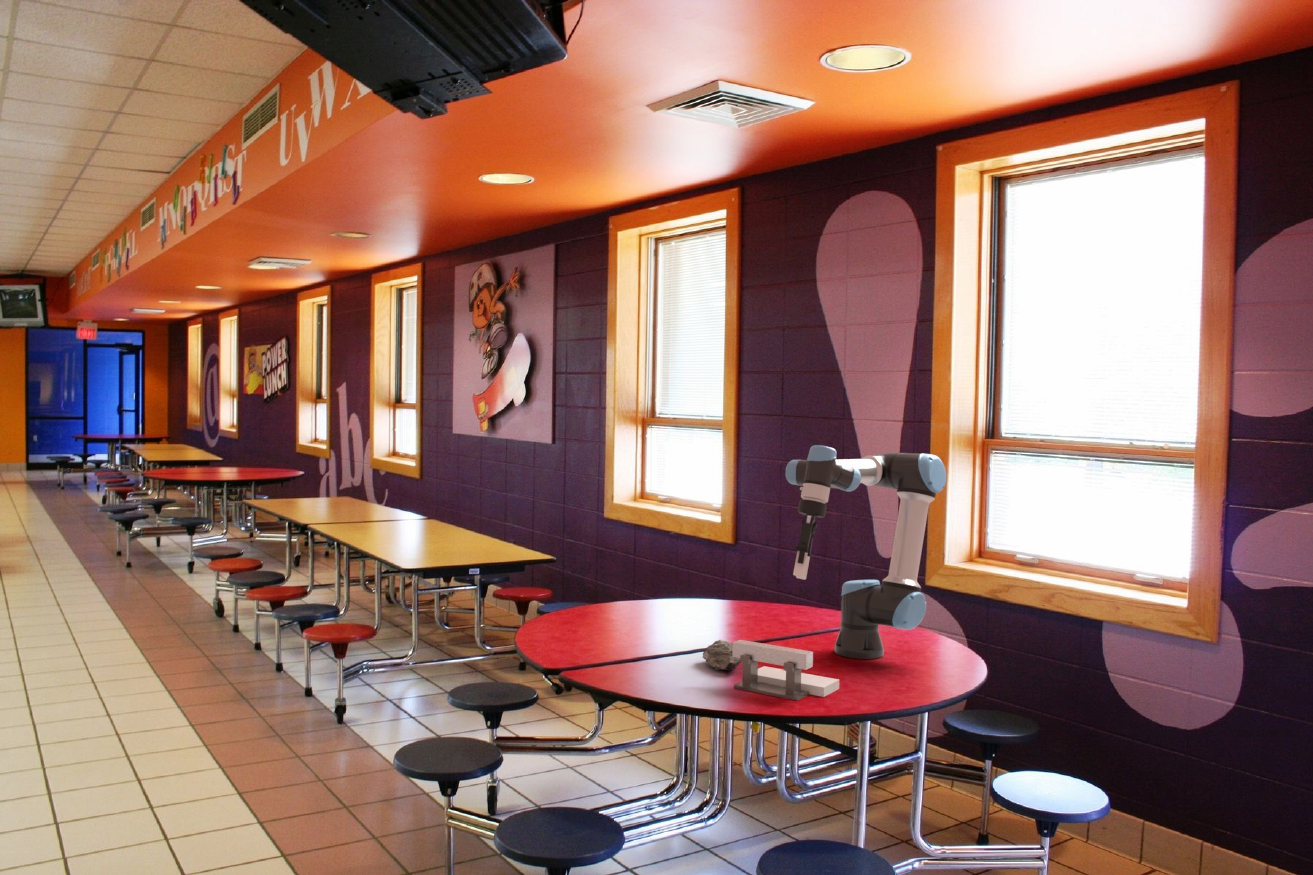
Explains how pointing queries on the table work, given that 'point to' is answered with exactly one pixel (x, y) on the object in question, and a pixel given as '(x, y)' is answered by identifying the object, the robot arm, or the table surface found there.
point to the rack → (752, 685)
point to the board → (808, 681)
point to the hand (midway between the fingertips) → (799, 577)
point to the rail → (773, 654)
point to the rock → (721, 655)
